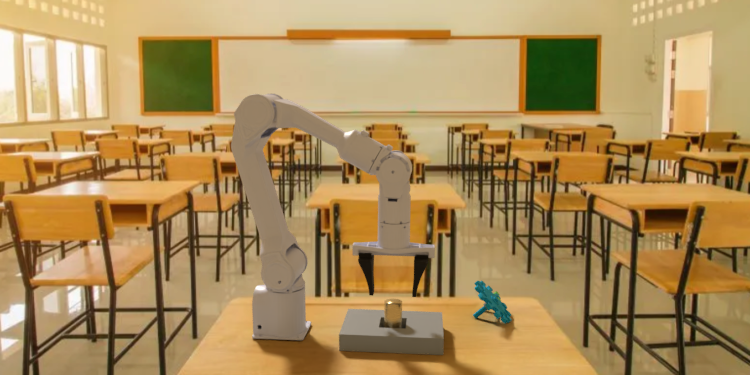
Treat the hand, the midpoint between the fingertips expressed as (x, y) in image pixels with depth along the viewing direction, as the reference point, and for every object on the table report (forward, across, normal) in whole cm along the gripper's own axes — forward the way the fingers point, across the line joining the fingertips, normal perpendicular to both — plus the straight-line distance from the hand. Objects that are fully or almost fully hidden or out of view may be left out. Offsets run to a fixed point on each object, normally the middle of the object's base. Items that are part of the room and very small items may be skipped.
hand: (393, 294), depth 106 cm
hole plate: (+8, 0, 0) cm, 8 cm away
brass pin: (+8, 0, 0) cm, 8 cm away
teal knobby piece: (+9, -19, -11) cm, 24 cm away
